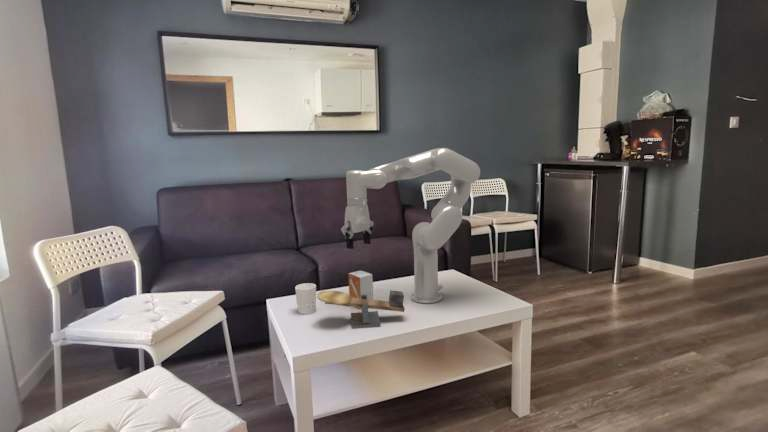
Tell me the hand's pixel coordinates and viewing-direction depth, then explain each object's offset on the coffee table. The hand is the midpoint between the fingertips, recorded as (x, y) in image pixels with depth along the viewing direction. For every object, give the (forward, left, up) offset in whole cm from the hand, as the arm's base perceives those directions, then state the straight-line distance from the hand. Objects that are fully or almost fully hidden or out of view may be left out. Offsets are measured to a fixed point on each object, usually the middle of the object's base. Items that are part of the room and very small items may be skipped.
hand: (358, 246), depth 160 cm
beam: (+12, +11, -18) cm, 25 cm away
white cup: (+17, -13, -24) cm, 32 cm away
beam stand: (+11, +12, -24) cm, 29 cm away
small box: (0, 0, -24) cm, 24 cm away
